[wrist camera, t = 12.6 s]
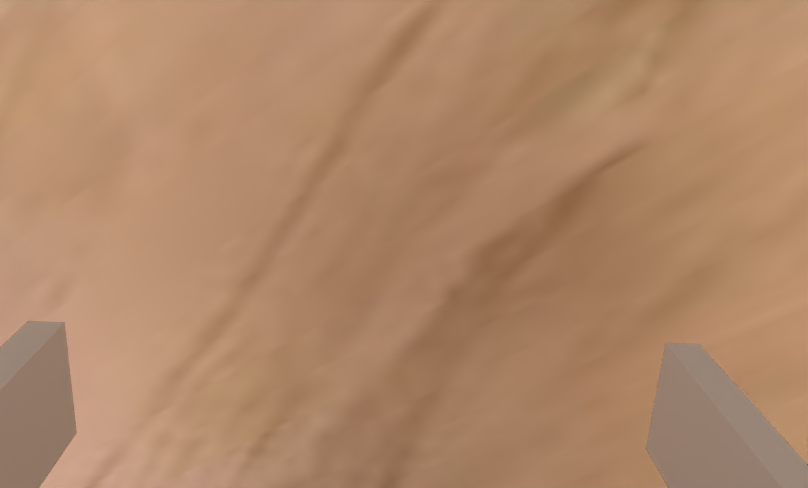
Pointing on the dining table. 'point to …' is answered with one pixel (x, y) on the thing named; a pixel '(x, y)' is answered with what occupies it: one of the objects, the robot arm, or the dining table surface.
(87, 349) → the dining table surface
